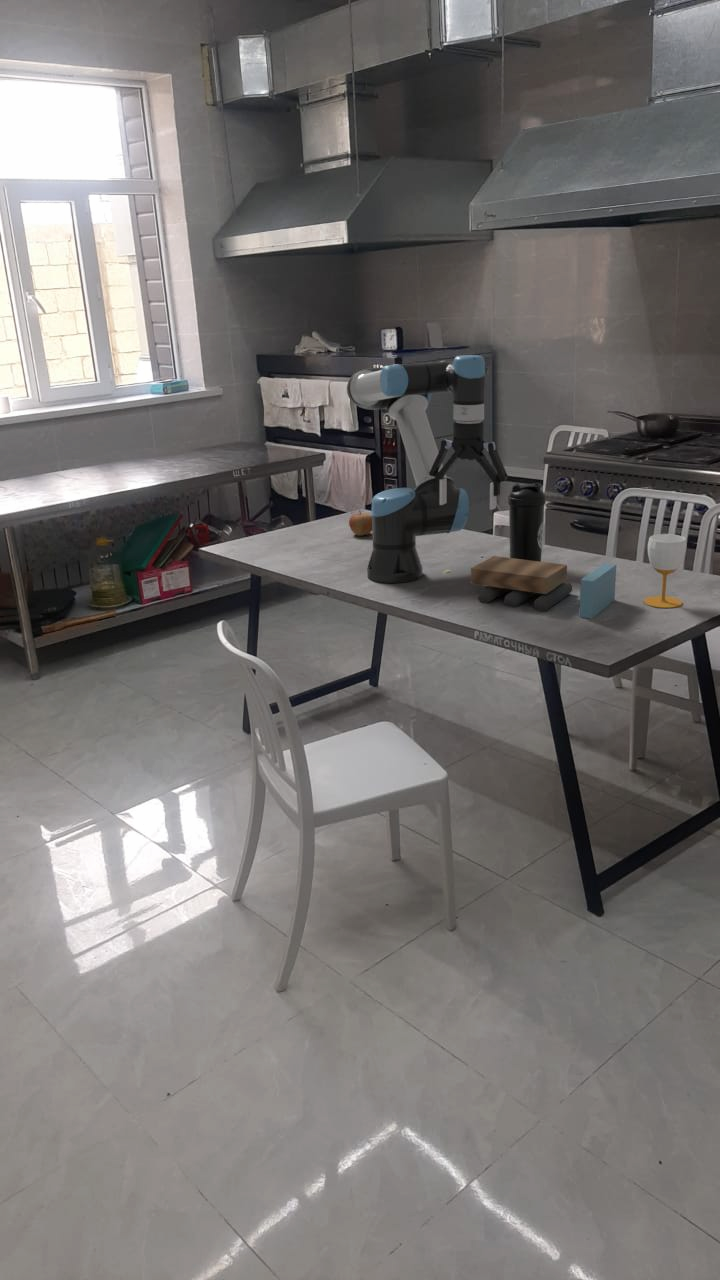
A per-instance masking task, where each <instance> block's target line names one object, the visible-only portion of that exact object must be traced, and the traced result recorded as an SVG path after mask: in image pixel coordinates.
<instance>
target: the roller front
mask: <svg viewBox="0 0 720 1280" xmlns="http://www.w3.org/2000/svg"><path fill="white" fill-rule="evenodd" d="M572 592H573V585H572V583H571V582H569V581H568V580H566V581H565V582H563V583H562V584H560V585H559V586H557V587H556V588H554V589H553V590H551V591H550V592H549V593H547V594H542V595H541V596H539V597H538V598H536V599H535V600H534V603H533V607H534V609H535V610H536V611H537V612H543V613H544V612H546V611H547V610H549V609H550V608H552V607H553V606H554V605H556V604H557V603H559V602H560V601H561V600H563V599H564V598H565V597H567V596H568V595H570V594H571V593H572Z"/></svg>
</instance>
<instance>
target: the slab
mask: <svg viewBox="0 0 720 1280" xmlns="http://www.w3.org/2000/svg"><path fill="white" fill-rule="evenodd" d="M567 573H568V564H562V563H554V562H547V561H541V562H539V561H531V560H523V559H514V558H510V557H505V556H496V555H494V556H491V557H489V558H488V559H486V560H484V561H482V562H480V563H478V564H476V565H474V566H473V567H471V568H470V584H471V585H478V586H485V587H488V586H491V587H498V588H505V589H509V590H513V591H514V590H520V591H527V592H534V593H535V594H542V595H543V594H547V593H549V592H550V591H551V590H553V589H554V588H556V587H557V586H559V585H560V584H562V583H563V582H565V581H567V578H568V577H567V576H568V575H567Z"/></svg>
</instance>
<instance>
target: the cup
mask: <svg viewBox="0 0 720 1280" xmlns="http://www.w3.org/2000/svg"><path fill="white" fill-rule="evenodd" d="M686 552H687V538H686V537H684V536H682V535H679V534H673V533H672V534H670V533H661V534H653V535H650V536H649V538H648V542H647V555H648V561H649V563H650V565H651V568H653V569H654V571H656V572H657V573H659V574H661V575H662V588H661V595H655V596H649V597H646V598H644V600H643V603H644V604H645V605H646V606H647V607H648V606H649V607H652V608H657V609H675V608H679V607H681V606H682V605H683V601H682V600H681V599H678V598H676V597H673V596H666V590H667V589H666V588H667V577H668V575H670V574H673V573H675V572H676V571H678V569H679V568H680V567H681V565H682V564H683V561H684V559H685V556H686Z"/></svg>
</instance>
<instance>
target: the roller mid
mask: <svg viewBox="0 0 720 1280" xmlns="http://www.w3.org/2000/svg"><path fill="white" fill-rule="evenodd" d="M535 594H536V593H534V592H527V591H520V590H513V591H511V592H509V593H508V594H506V595H505V597H504V603H505V605H506V606H507V607H509V608H510V607H511V608H516V607H517V606H518V605H520V604H522V603H523V602H524V601H526V600H528V599H529V598H531V597H532V596H534V595H535Z"/></svg>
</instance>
